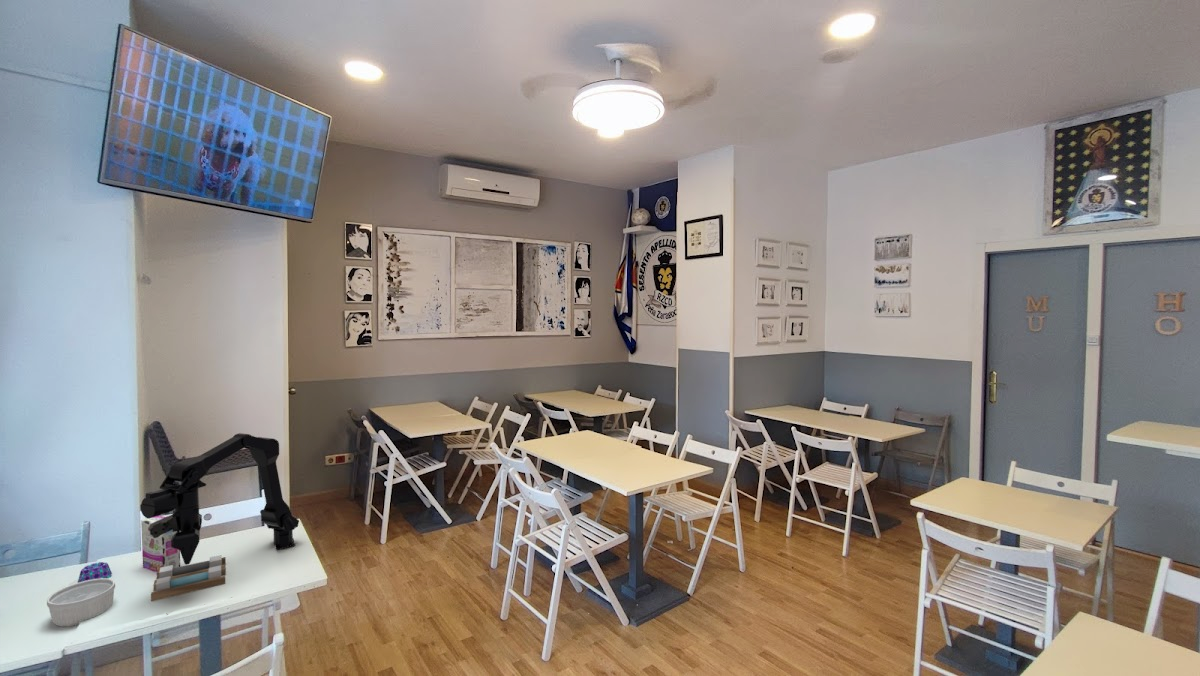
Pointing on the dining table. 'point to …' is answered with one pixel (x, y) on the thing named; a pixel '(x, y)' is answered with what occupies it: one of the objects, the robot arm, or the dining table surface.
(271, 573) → the dining table surface
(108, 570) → the purple spotted rounded lump
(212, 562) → the grey white-ended bar
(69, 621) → the ramekin
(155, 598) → the walnut rack
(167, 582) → the grey and teal bar
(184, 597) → the dining table surface
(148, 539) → the candy bar box
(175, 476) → the robot arm
